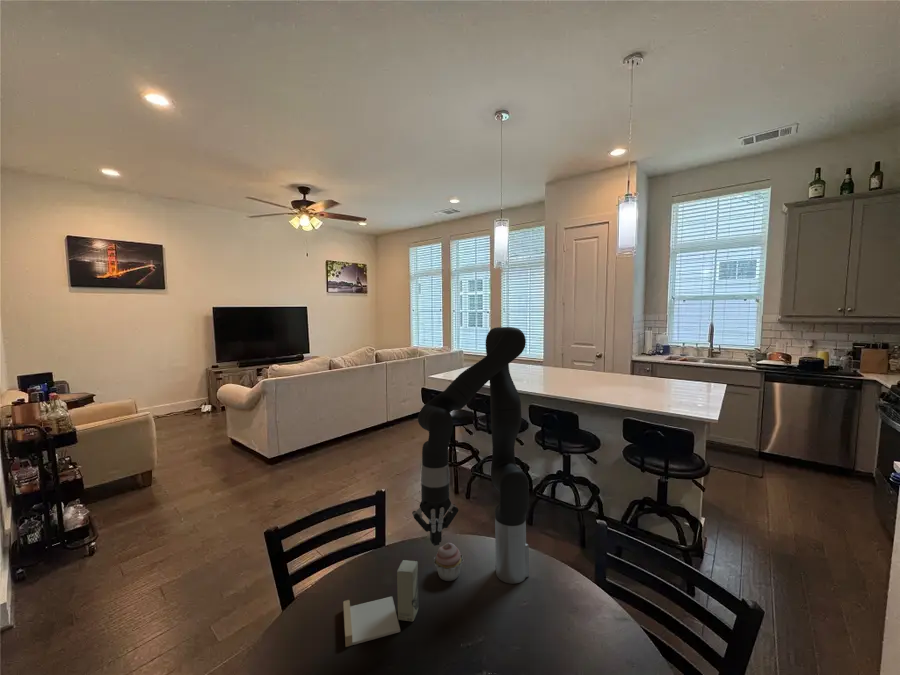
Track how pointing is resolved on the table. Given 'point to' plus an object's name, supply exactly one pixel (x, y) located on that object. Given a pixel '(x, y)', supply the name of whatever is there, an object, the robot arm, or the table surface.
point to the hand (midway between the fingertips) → (435, 543)
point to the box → (407, 590)
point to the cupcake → (448, 562)
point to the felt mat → (369, 620)
